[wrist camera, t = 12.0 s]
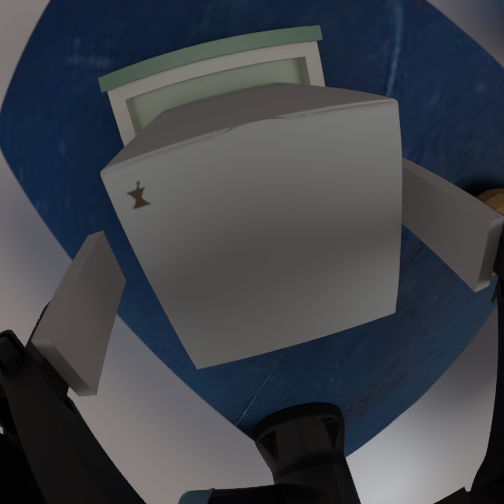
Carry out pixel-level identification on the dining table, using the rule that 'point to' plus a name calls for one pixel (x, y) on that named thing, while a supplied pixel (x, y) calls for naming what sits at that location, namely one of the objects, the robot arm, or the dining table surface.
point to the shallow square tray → (211, 73)
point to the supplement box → (265, 215)
